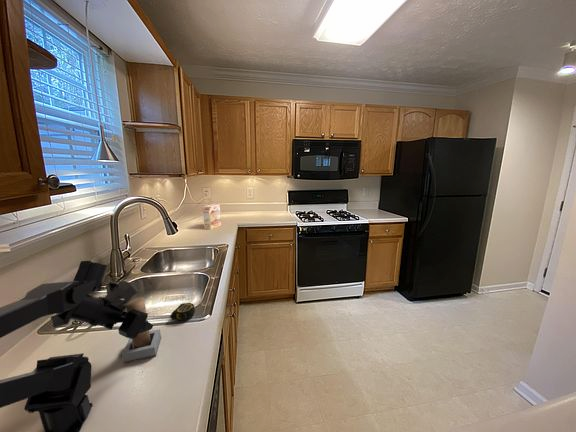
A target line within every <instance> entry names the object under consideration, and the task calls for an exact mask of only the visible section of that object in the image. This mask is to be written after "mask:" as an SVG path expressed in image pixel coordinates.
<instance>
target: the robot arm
mask: <svg viewBox="0 0 576 432" xmlns="http://www.w3.org/2000/svg"><path fill="white" fill-rule="evenodd" d="M108 270H109V268H108V266H107V265H106V264H102V263H98V262H94V261H92V260H81V261H80V263H79V265H78V269H77V272H76V273H75V275H74V278H73V280H72V281H59V282H46V283H41V284H40V285H38V286H36V287H34V288H32V289H31V290H29V291H27V292H26V294H25V296H23V297H22V298H20V299H19V300H17V301H14V302H11V303H9V304H6V305H3V306H1V307H0V339H1V338H3V337H5V336H7V335H9V334H12V333H14V332H15V331H17V330H19V329H21V328H23V327H25V326H27V325H29V324H31V323H33V322H34V321H37V320H38V319H41V318H43V317H47V316H50V315H52V316H50V319H51V322H52V323H51V324H52V327H53V328H58V327H62V326H65V325H68V324H69V323H70V320H71V321H76V322H81V323H85V324H89V325H91V326H94V327H97V326H98V327H99V326H100V327H103V328H106V329H108V330H112V329H113V328H114V326H115V325H117V324H118V323H121V324H120V326H119V327H118V334H119V335H120V336H123V337H125V338H127V339H129V338H130V339H135V338H136V337H137V335H138V334H140V333H142V332H145V331H148V330H149V331H152V330H153V327H154V325H153V323H151V322H149V321H146V319H147V320H148V318H149V314H148V312H146V313H145V312H142V311H139V310H136V309H133V310H131V311H129V312H127V311H126V307H127V306H126V304H127V303H128V302H129V301H130V299H131V298H133V297H134V296H135V295H137V293H138V289H137V288H136V287H135V286H134V285H133V283H131V282H130V281H129V282H128V281H126V280H122V281H120V280H119V281H117V282H118V283H117V282H113V281H109V282H108V283H107V284H106V285H105V288H106V292H105V293H106V295H105V296H104V297H103V296H93V294H94V293H95V292H101V289H102V285H103V283H104V281H105V277H106V274H107V272H108ZM84 354H85V353H77V354H76V353H75V354H67V355H57V356H50V357H48V358H47V359H45V358H44V359H38V360H36V366H35V368H34V369H33V371H31V372H26V373H22V374H19V375H15V376H11V377H7V378H2V379H0V409H1V408H5V407H7V406H10V405H13V404H16V403H19V402H21V401H24V400H26V399H27V400H26V402H25V405H24V407H23V408H24V411H26V412H27V413H29V414H33V413H36V412H37V413H38V414H39V417H40V418H39V419H41V420H40V421H41V423H42V427H43V430H44V432H80V431H81V430H82V428H83V425H84V423H85V421H87V419H88V417H89V414H90V412H91V410H92V407H93V402H90V399H89V395H88V394H87V393H88V391H89V390H90V389H91V387H92V363H91V362H90V360H89V359H90V358H89V357H88V356H85V355H84Z"/></svg>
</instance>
